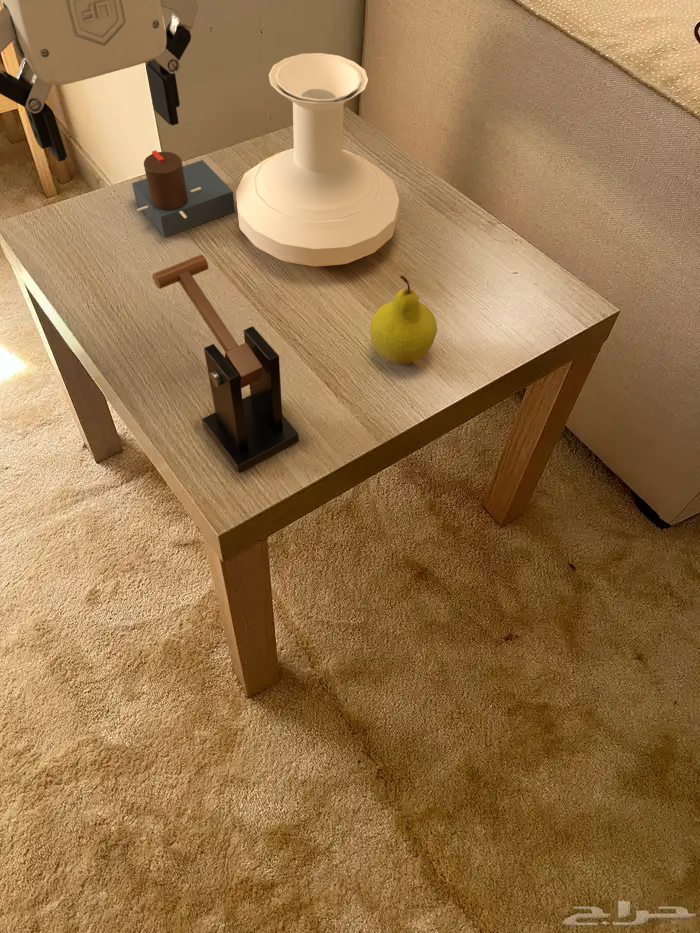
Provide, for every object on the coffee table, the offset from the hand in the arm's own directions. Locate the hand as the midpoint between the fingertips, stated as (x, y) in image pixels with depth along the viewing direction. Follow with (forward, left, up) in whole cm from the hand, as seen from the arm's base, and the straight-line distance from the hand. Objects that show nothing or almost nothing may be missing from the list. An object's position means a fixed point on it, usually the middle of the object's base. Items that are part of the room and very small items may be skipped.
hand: (112, 134), depth 57 cm
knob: (-1, +22, -21) cm, 31 cm away
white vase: (+17, +20, -24) cm, 36 cm away
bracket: (+10, -12, -24) cm, 29 cm away
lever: (+7, -8, -14) cm, 17 cm away
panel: (0, +23, -24) cm, 34 cm away
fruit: (+26, -1, -24) cm, 36 cm away
